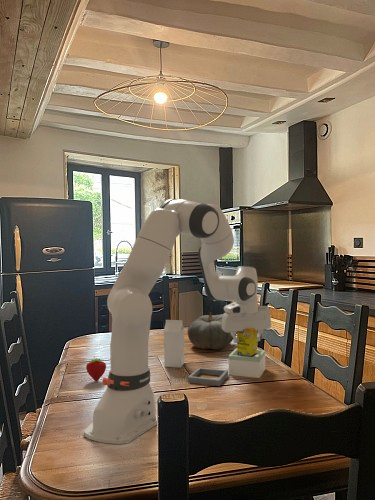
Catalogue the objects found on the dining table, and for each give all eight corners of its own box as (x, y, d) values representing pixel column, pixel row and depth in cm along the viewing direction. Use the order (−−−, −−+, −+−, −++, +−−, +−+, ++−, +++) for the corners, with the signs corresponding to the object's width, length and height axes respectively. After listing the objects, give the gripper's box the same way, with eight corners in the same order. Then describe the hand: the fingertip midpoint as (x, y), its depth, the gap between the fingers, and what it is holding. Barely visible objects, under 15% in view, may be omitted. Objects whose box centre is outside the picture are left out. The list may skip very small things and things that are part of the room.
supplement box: (236, 355, 158) (236, 328, 158) (244, 352, 163) (243, 325, 162) (250, 358, 154) (250, 329, 154) (257, 354, 159) (257, 327, 159)
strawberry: (104, 384, 147) (103, 356, 147) (84, 383, 147) (83, 357, 147) (108, 378, 153) (107, 352, 153) (88, 378, 153) (88, 352, 153)
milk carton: (181, 368, 165) (180, 322, 165) (164, 367, 166) (163, 321, 166) (184, 362, 172) (184, 318, 172) (168, 362, 173) (167, 318, 173)
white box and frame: (252, 390, 139) (252, 368, 139) (188, 382, 148) (187, 362, 147) (265, 368, 162) (265, 350, 162) (209, 363, 171) (208, 345, 171)
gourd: (239, 335, 211) (235, 303, 208) (240, 356, 186) (235, 320, 183) (192, 339, 214) (187, 308, 211) (187, 360, 189) (182, 326, 186)
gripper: (266, 304, 164) (266, 337, 165) (220, 307, 158) (220, 341, 158) (274, 306, 158) (274, 341, 159) (226, 309, 152) (226, 345, 152)
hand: (246, 341), depth 158 cm, fingers closed on supplement box, 8 cm apart
